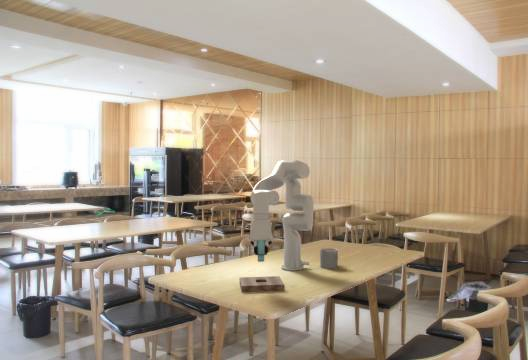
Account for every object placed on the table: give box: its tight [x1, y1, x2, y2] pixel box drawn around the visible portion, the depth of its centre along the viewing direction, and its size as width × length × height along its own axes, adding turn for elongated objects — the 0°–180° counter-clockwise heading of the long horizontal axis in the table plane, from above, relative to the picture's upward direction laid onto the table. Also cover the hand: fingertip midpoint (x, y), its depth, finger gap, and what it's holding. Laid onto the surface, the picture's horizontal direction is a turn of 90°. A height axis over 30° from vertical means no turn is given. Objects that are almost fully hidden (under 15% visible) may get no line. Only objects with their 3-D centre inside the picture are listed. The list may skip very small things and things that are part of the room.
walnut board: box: [239, 275, 285, 293], centre depth 216 cm, size 20×16×3 cm
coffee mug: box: [319, 247, 339, 270], centre depth 260 cm, size 13×10×10 cm
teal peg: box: [256, 240, 266, 263], centre depth 215 cm, size 4×4×12 cm
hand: (260, 254), depth 215 cm, fingers closed on teal peg, 4 cm apart
